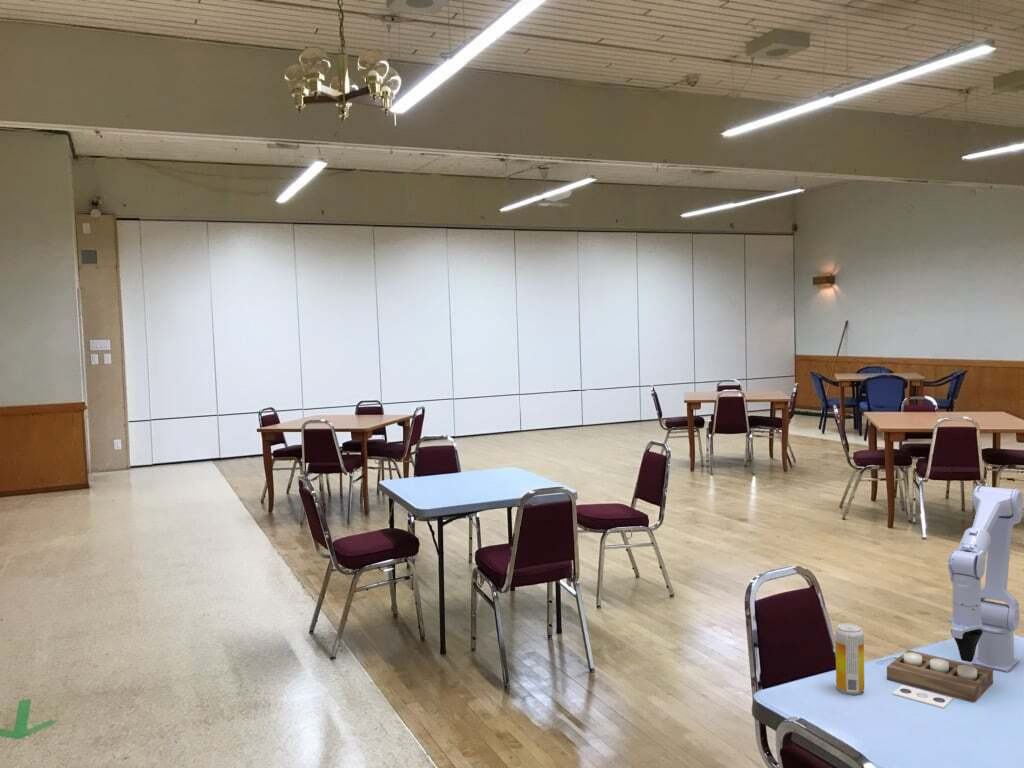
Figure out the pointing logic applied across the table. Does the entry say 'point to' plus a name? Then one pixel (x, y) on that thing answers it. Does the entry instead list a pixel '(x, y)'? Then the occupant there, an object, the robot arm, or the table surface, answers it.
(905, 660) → the left button
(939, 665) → the middle button
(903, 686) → the card
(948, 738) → the table surface
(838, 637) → the beer can
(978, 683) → the button panel
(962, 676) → the right button
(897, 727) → the table surface
